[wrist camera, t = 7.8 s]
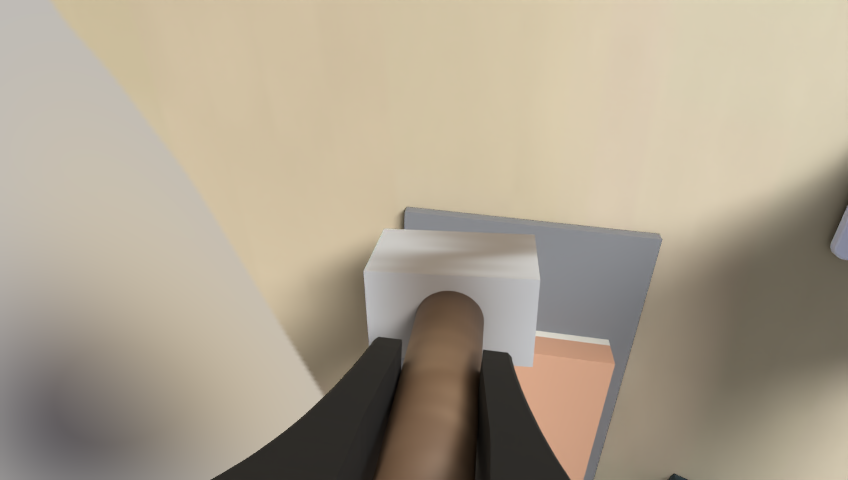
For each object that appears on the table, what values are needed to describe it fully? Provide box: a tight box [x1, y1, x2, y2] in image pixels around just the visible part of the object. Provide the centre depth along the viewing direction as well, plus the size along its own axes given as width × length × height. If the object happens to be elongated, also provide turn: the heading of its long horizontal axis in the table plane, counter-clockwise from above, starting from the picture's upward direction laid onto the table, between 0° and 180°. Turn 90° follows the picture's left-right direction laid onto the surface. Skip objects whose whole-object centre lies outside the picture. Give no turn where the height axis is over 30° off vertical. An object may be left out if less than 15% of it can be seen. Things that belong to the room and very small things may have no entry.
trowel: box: [363, 229, 540, 480], centre depth 14 cm, size 5×3×10 cm, turn 91°
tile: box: [514, 331, 615, 480], centre depth 24 cm, size 8×2×8 cm
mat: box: [401, 207, 662, 480], centre depth 25 cm, size 10×15×1 cm, turn 177°
